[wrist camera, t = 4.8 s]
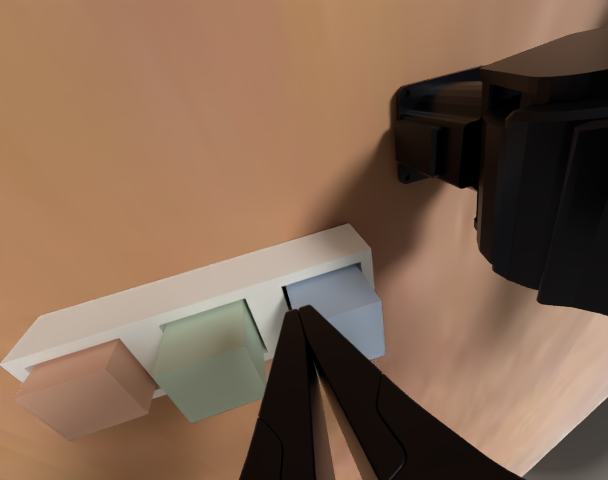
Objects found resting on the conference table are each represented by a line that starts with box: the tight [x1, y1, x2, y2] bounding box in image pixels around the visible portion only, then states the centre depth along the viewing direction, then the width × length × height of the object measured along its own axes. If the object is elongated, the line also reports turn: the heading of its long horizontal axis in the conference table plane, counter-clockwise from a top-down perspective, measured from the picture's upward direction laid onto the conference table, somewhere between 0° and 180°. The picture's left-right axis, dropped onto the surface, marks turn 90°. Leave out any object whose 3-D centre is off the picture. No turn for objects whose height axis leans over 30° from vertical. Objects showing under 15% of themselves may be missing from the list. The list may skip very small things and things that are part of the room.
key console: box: [0, 223, 375, 399], centre depth 21 cm, size 23×7×4 cm, turn 102°
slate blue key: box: [286, 264, 385, 378], centre depth 19 cm, size 5×5×5 cm
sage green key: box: [152, 298, 267, 423], centre depth 18 cm, size 5×5×5 cm
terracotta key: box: [12, 338, 156, 441], centre depth 19 cm, size 5×5×5 cm
